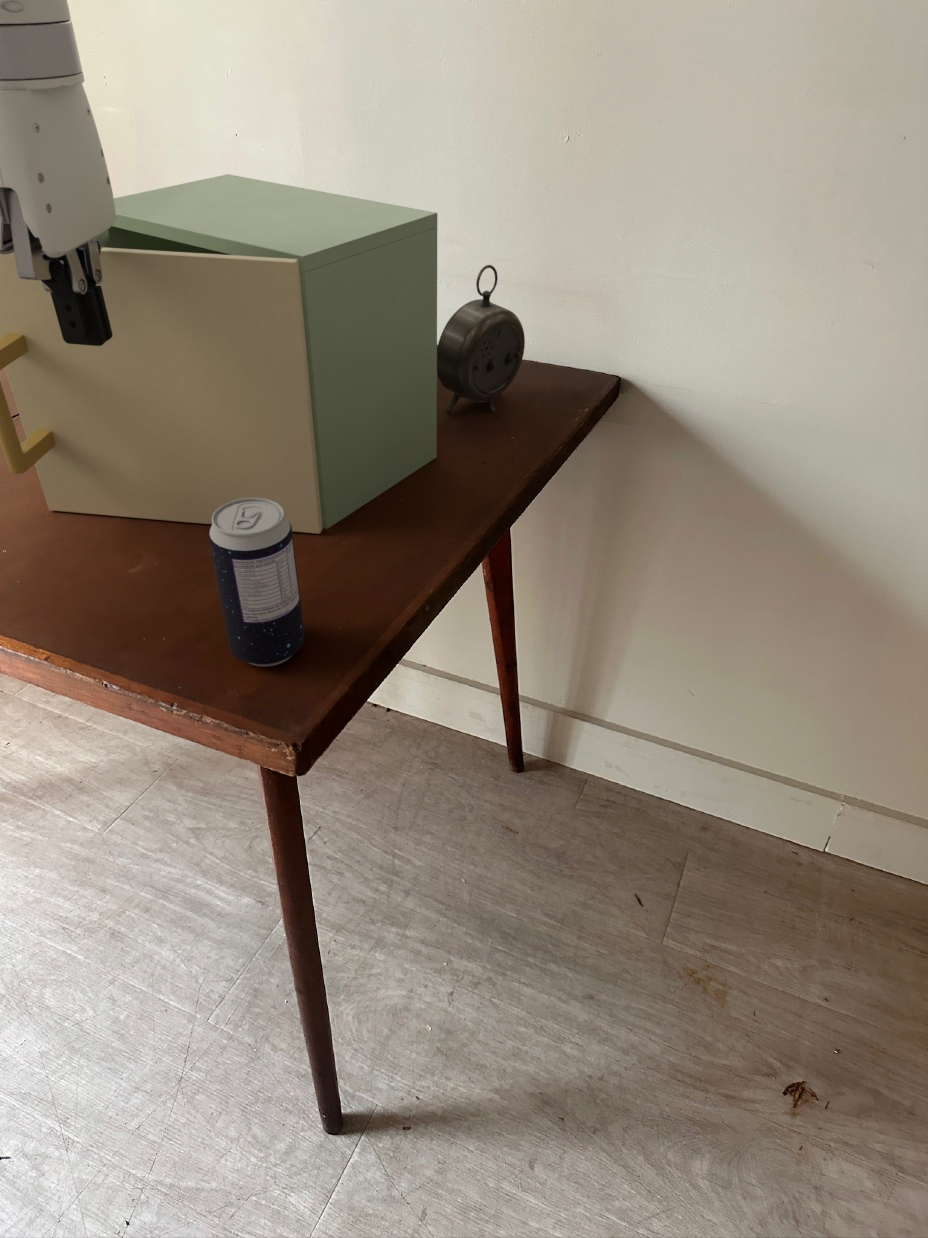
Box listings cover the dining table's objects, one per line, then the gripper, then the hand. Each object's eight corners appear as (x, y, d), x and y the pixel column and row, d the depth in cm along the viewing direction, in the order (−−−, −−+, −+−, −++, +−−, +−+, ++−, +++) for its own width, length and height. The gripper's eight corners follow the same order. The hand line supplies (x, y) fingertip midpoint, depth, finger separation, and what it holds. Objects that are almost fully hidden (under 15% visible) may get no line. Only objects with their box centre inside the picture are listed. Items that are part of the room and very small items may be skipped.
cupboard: (326, 529, 81) (303, 256, 66) (137, 453, 92) (80, 205, 77) (436, 457, 93) (437, 212, 78) (257, 397, 104) (227, 173, 89)
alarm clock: (497, 387, 108) (503, 251, 98) (528, 400, 105) (539, 261, 95) (432, 411, 102) (433, 268, 92) (464, 426, 99) (468, 280, 89)
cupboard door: (303, 568, 75) (272, 284, 61) (17, 542, 78) (-81, 262, 63) (322, 528, 81) (298, 258, 66) (54, 505, 83) (-28, 239, 68)
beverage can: (313, 629, 69) (298, 497, 62) (295, 676, 64) (277, 539, 57) (243, 623, 69) (221, 492, 62) (221, 670, 65) (193, 533, 57)
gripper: (24, 42, 61) (90, 305, 72) (-118, 67, 49) (-13, 375, 61) (125, 46, 60) (175, 311, 71) (5, 72, 48) (87, 383, 60)
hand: (88, 340), depth 66 cm, fingers closed
